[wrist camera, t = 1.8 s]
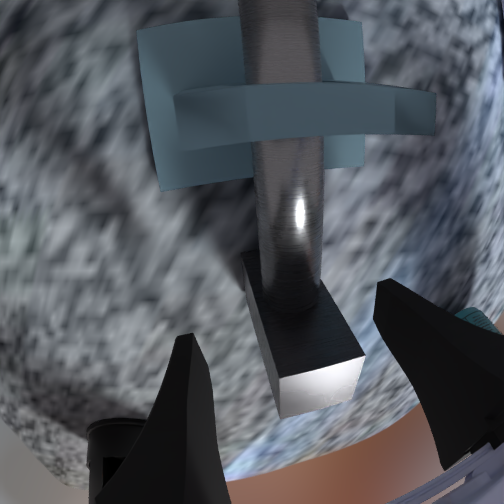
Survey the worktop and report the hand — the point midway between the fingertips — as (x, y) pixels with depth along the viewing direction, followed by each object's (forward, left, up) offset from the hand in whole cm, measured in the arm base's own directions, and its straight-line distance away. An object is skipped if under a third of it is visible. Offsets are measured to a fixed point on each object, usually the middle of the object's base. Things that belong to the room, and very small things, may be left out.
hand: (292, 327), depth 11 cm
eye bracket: (0, -8, -4) cm, 9 cm away
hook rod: (0, -5, -4) cm, 6 cm away
